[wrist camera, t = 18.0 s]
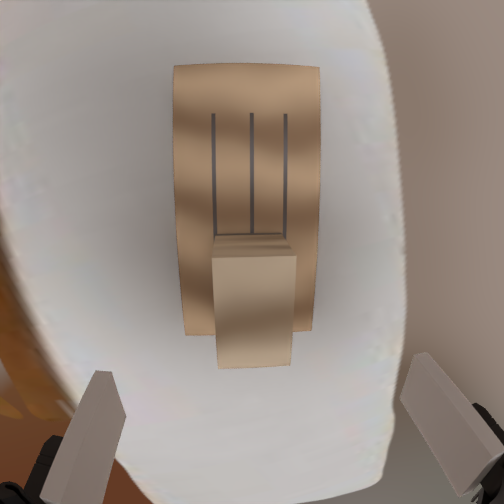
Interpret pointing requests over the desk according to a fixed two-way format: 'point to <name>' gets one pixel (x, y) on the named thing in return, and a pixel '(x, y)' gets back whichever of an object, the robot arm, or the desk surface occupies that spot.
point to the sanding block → (253, 299)
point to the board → (245, 172)
